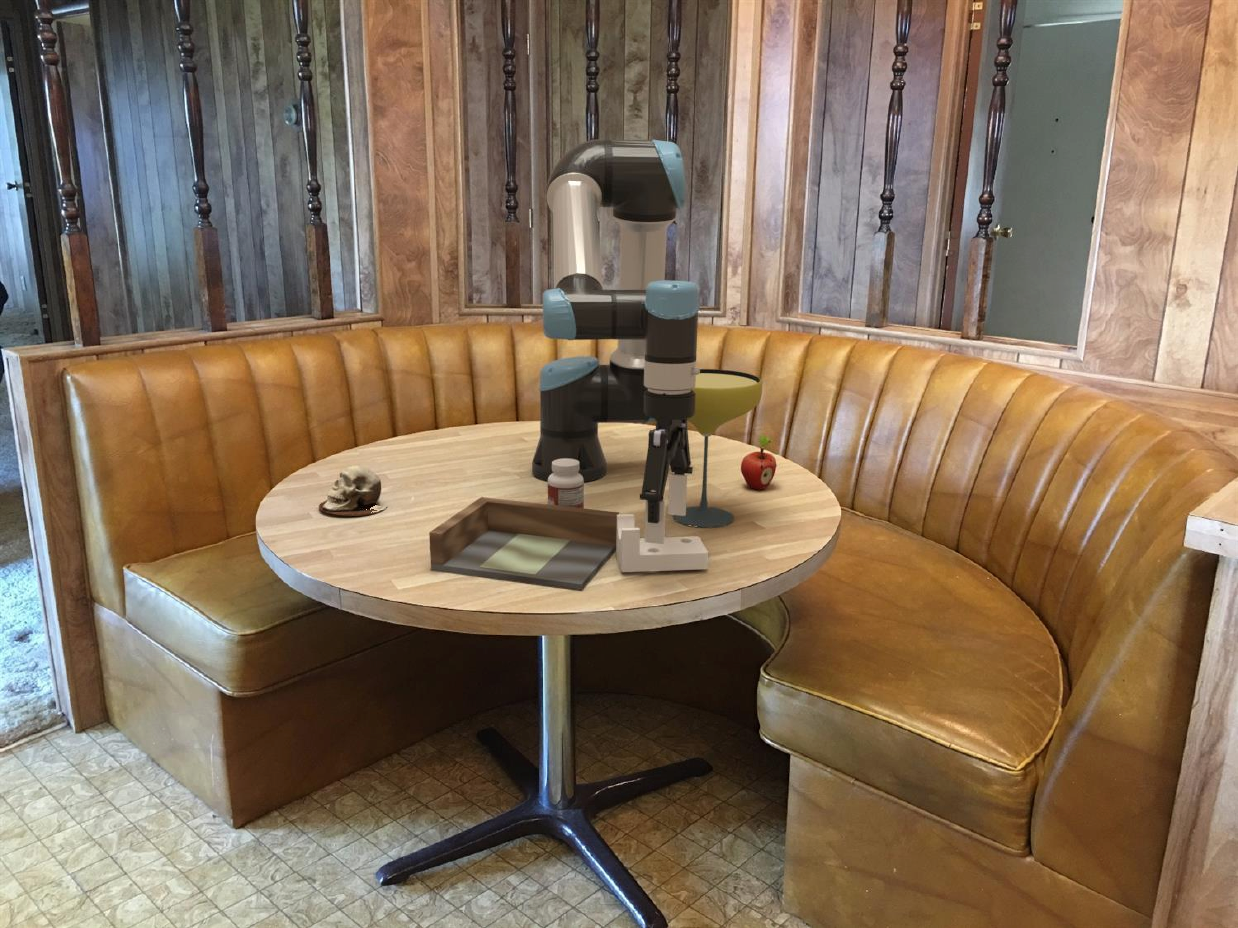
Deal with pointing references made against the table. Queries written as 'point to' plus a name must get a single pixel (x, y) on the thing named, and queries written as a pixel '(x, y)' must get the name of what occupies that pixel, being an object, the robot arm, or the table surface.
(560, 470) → the pill bottle
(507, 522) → the tray
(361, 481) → the skull
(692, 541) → the bracket
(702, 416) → the cocktail glass
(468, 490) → the table surface
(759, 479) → the apple
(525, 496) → the table surface
